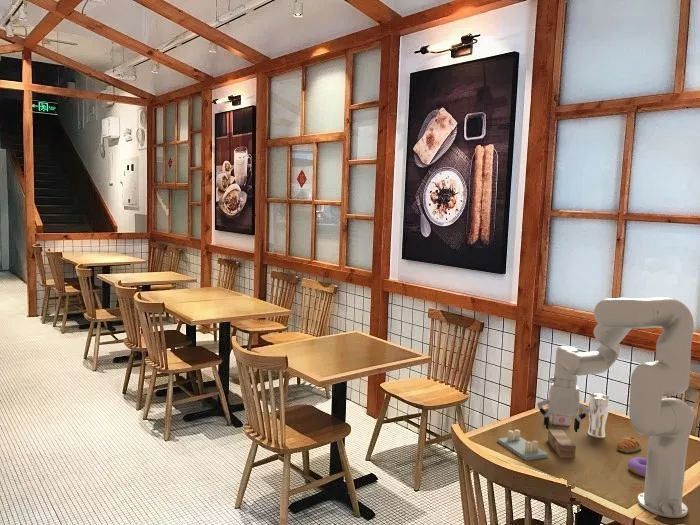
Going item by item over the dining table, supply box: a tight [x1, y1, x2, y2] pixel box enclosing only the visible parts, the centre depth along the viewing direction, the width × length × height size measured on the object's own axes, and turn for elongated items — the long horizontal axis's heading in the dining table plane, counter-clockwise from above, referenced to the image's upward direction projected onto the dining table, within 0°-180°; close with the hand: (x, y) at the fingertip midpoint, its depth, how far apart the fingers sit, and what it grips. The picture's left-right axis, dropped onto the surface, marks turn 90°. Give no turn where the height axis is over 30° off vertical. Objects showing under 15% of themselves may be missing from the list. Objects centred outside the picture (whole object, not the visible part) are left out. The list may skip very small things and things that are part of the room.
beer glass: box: [587, 392, 610, 439], centre depth 214 cm, size 7×7×15 cm
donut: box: [627, 456, 647, 478], centre depth 185 cm, size 10×9×5 cm
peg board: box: [497, 429, 549, 461], centre depth 199 cm, size 16×9×5 cm, turn 20°
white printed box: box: [549, 413, 572, 427], centre depth 225 cm, size 4×7×10 cm, turn 80°
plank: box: [547, 429, 577, 459], centre depth 201 cm, size 14×5×4 cm, turn 177°
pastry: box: [616, 435, 642, 454], centre depth 203 cm, size 9×7×4 cm
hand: (561, 428), depth 201 cm, fingers open, 9 cm apart
